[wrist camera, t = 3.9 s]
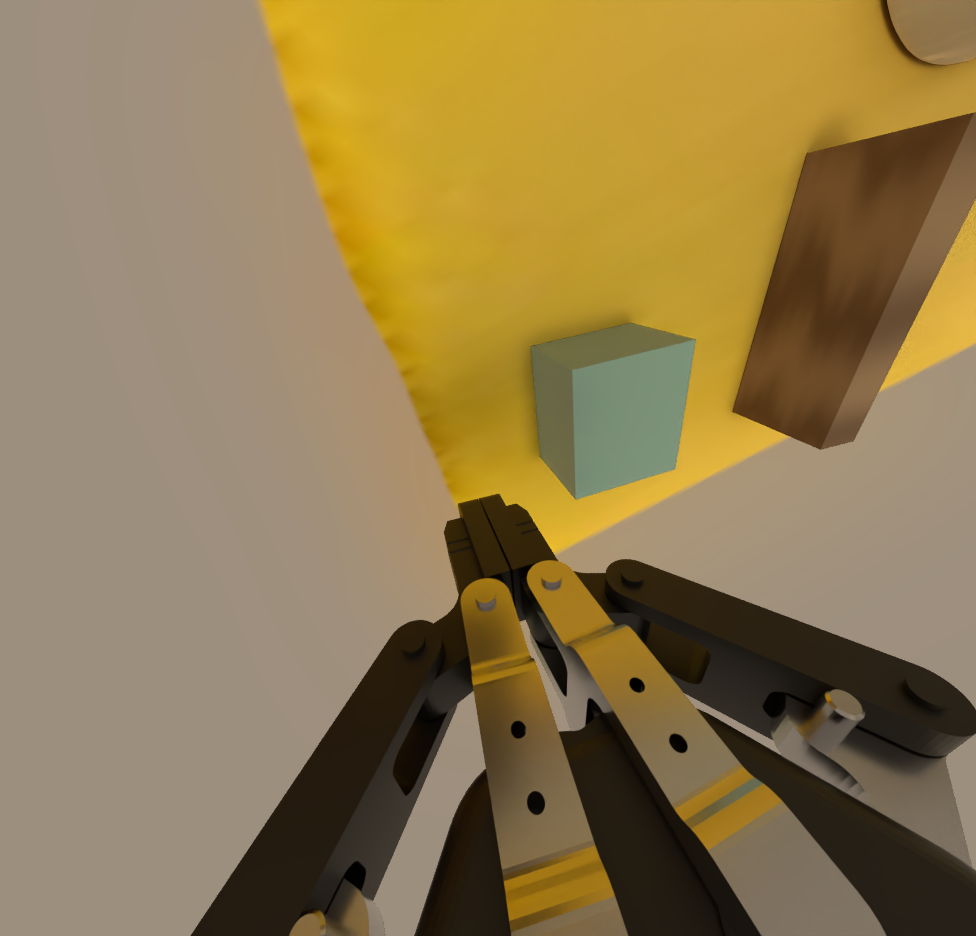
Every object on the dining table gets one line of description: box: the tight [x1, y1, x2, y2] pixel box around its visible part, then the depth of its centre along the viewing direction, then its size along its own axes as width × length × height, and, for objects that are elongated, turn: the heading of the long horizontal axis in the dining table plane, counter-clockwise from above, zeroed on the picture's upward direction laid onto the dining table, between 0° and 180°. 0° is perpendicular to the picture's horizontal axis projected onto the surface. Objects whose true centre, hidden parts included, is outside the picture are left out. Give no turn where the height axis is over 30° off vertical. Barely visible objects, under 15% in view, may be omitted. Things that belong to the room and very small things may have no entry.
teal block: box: [531, 323, 696, 499], centre depth 19 cm, size 7×6×5 cm
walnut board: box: [733, 112, 976, 450], centre depth 19 cm, size 14×2×6 cm, turn 6°
